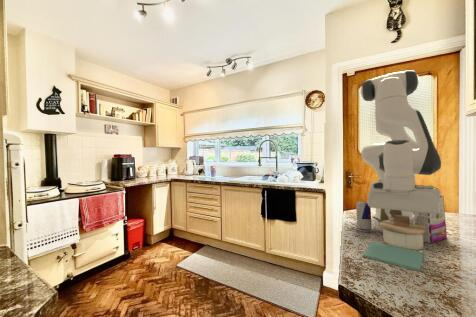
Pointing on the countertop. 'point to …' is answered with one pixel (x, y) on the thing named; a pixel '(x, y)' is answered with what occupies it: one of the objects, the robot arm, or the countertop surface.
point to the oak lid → (403, 226)
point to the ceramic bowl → (403, 240)
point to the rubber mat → (395, 255)
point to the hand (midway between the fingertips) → (401, 222)
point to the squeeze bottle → (392, 212)
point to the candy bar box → (433, 224)
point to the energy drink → (363, 217)
